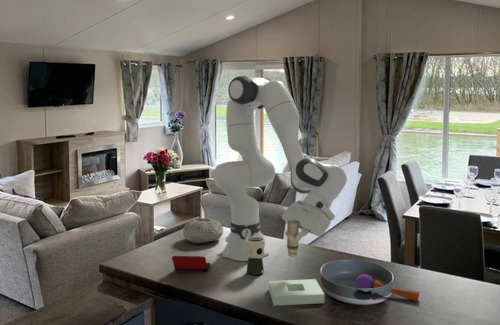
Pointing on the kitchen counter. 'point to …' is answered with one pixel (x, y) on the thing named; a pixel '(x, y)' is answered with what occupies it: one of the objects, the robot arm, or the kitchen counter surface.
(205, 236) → the decorative shell
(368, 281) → the purple and orange maraca
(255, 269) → the character mug
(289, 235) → the beech peg
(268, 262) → the kitchen counter surface
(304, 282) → the sage board
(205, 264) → the handheld game console
